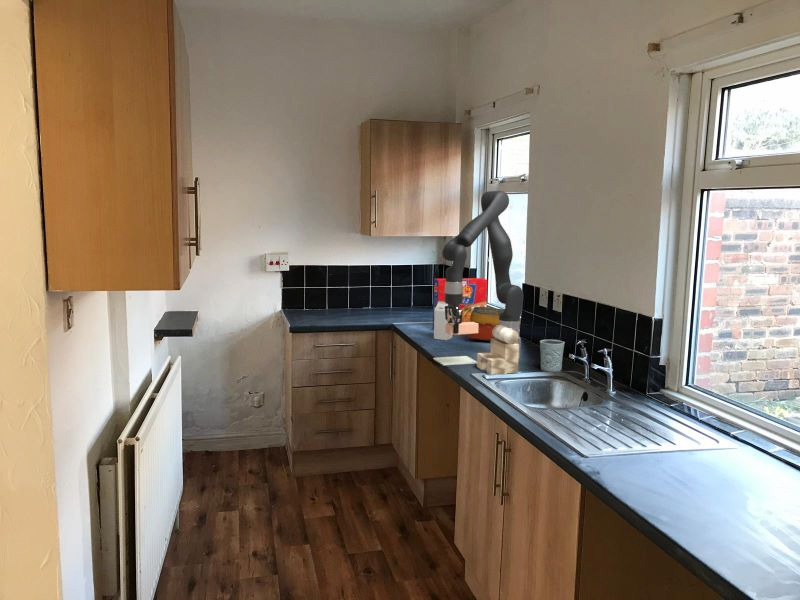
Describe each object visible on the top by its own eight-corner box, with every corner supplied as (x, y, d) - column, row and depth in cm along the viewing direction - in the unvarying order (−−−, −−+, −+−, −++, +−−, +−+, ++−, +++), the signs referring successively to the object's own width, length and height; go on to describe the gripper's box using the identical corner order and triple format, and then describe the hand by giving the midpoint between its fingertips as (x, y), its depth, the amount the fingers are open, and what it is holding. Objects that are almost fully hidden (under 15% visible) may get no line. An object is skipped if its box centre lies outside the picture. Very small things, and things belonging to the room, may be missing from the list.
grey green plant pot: (545, 372, 278) (547, 344, 277) (534, 367, 288) (535, 339, 286) (567, 371, 281) (569, 343, 279) (555, 366, 291) (556, 338, 289)
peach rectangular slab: (472, 330, 290) (473, 321, 289) (478, 333, 285) (478, 323, 285) (445, 332, 285) (445, 323, 285) (450, 335, 281) (450, 325, 280)
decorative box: (473, 336, 357) (471, 305, 355) (515, 335, 351) (513, 304, 348) (465, 345, 338) (462, 313, 336) (509, 345, 331) (507, 312, 329)
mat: (466, 357, 304) (466, 355, 304) (477, 363, 293) (477, 362, 292) (433, 359, 299) (433, 357, 299) (443, 365, 288) (443, 364, 288)
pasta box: (437, 331, 364) (438, 280, 360) (432, 329, 371) (433, 278, 367) (485, 330, 371) (487, 279, 367) (480, 327, 379) (481, 278, 375)
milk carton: (440, 336, 350) (441, 300, 347) (452, 338, 346) (453, 301, 344) (433, 339, 344) (434, 302, 341) (446, 340, 340) (447, 303, 337)
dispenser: (502, 365, 290) (504, 324, 287) (517, 373, 276) (519, 330, 274) (476, 367, 286) (478, 325, 283) (491, 375, 273) (492, 331, 270)
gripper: (469, 294, 276) (468, 334, 279) (455, 289, 289) (454, 328, 292) (452, 294, 274) (451, 335, 276) (438, 290, 287) (438, 329, 289)
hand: (453, 331), depth 284 cm, fingers closed on peach rectangular slab, 5 cm apart
